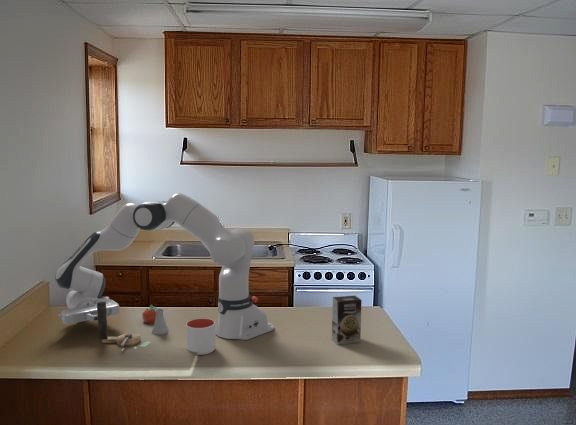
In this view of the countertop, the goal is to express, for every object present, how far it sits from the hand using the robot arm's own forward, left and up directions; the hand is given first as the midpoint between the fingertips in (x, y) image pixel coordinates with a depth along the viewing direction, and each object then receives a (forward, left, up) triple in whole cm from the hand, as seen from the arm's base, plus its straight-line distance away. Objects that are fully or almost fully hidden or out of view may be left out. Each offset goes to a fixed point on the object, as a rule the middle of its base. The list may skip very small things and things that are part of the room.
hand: (96, 318), depth 191 cm
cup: (-27, +29, -9) cm, 41 cm away
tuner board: (-6, +9, -9) cm, 14 cm away
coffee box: (-74, +52, -9) cm, 91 cm away
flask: (-21, +7, -9) cm, 24 cm away
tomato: (-23, -6, -9) cm, 25 cm away
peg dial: (-4, +10, -7) cm, 13 cm away
